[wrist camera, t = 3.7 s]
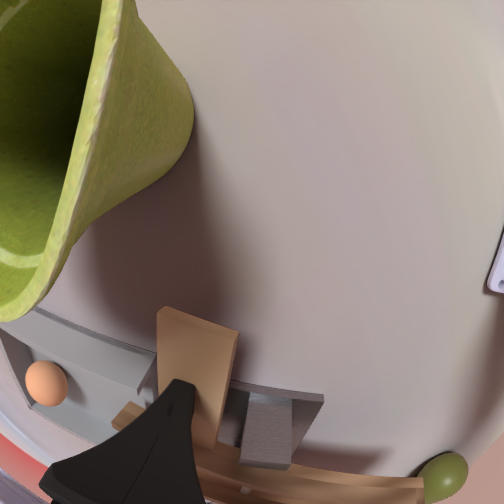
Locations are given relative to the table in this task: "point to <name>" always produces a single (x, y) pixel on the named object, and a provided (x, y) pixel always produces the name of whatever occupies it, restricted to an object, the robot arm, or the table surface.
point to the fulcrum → (266, 423)
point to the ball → (46, 383)
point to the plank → (226, 456)
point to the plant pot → (76, 130)
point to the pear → (443, 476)
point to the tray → (80, 372)
